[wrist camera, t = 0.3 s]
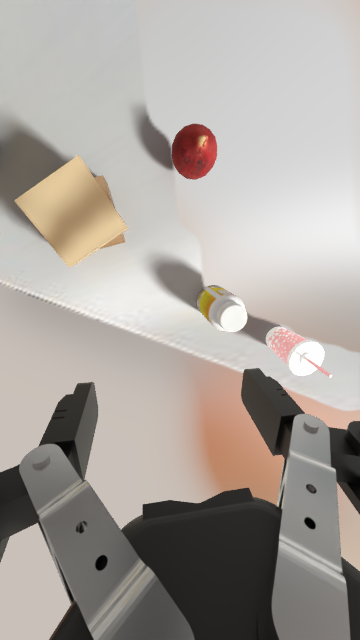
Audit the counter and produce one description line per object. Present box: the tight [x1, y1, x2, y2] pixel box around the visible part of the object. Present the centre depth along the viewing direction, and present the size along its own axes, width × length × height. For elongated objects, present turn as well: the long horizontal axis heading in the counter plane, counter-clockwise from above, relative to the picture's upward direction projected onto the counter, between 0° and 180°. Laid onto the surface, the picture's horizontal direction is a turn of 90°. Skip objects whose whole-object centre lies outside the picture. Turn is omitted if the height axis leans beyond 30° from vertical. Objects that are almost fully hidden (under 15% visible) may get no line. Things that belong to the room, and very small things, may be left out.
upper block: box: [14, 155, 128, 267], centre depth 28 cm, size 8×8×5 cm
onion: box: [172, 124, 217, 179], centre depth 31 cm, size 6×6×8 cm
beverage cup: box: [266, 326, 332, 378], centre depth 41 cm, size 6×6×14 cm
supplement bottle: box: [197, 285, 247, 332], centre depth 37 cm, size 6×6×10 cm
